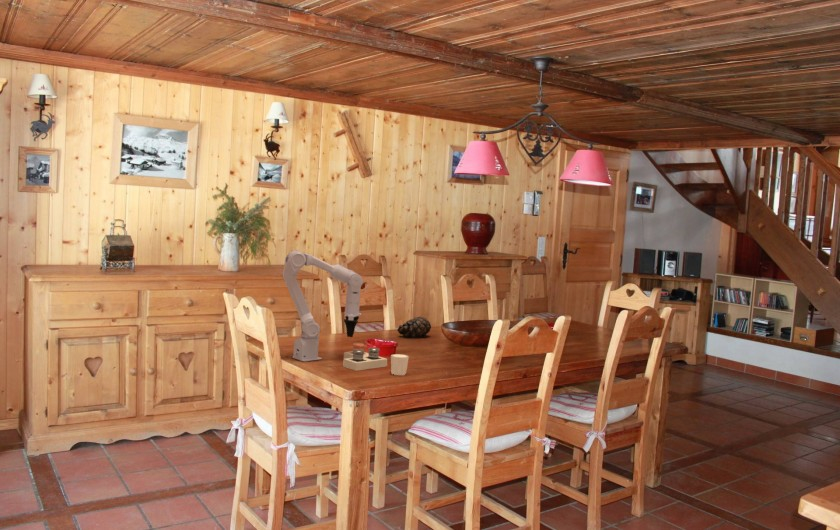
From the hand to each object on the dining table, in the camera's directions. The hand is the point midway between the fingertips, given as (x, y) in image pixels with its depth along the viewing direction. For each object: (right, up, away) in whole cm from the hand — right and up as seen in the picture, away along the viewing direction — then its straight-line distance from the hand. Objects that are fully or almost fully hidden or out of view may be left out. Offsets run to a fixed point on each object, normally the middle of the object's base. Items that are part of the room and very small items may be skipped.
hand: (350, 335), depth 292 cm
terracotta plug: (+3, -8, -1) cm, 9 cm away
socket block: (+3, -11, -7) cm, 13 cm away
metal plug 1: (+4, -9, -14) cm, 17 cm away
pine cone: (+26, -7, +61) cm, 66 cm away
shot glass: (+20, -13, -18) cm, 30 cm away
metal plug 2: (+10, -9, -8) cm, 16 cm away
